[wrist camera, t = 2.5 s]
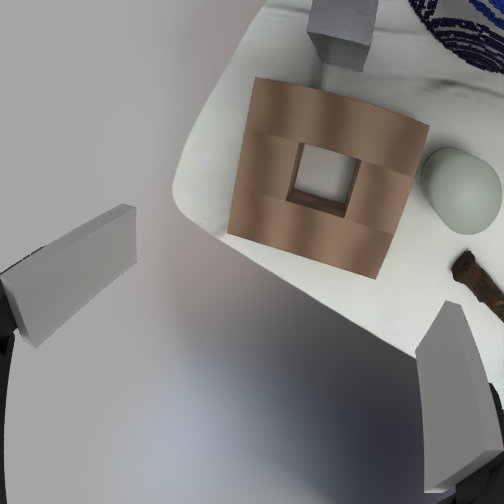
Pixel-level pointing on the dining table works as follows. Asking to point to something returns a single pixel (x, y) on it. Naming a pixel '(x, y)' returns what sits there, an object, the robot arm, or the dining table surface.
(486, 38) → the decorative bowl
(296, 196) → the socket block
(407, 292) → the dining table surface
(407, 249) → the dining table surface
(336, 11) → the square bar
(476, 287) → the hand tool
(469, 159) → the round stub
